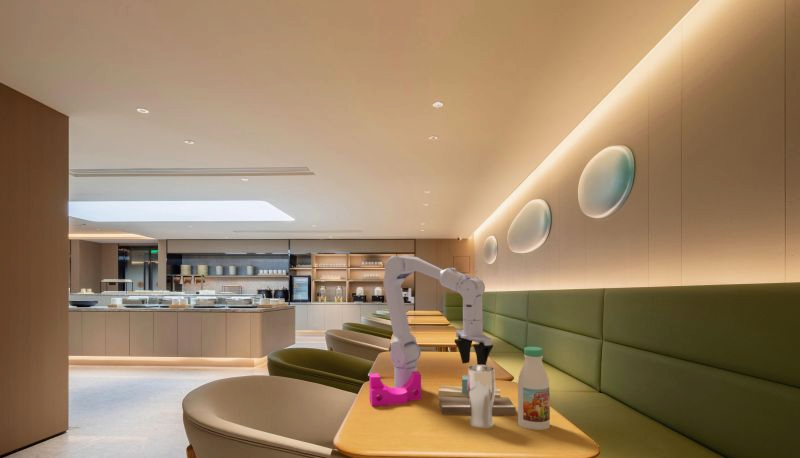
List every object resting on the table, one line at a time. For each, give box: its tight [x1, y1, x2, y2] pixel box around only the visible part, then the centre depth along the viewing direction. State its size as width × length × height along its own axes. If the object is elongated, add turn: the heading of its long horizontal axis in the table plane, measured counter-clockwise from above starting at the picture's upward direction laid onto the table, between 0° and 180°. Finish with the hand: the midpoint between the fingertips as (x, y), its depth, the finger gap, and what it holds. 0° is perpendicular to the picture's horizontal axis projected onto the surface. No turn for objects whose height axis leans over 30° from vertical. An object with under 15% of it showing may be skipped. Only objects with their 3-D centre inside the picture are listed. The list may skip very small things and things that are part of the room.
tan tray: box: [437, 385, 501, 401], centre depth 138 cm, size 5×18×3 cm, turn 78°
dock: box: [438, 396, 516, 416], centre depth 129 cm, size 8×20×2 cm, turn 90°
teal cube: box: [461, 375, 468, 394], centre depth 137 cm, size 4×4×4 cm
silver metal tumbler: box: [467, 364, 496, 429], centre depth 117 cm, size 7×7×15 cm
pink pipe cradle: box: [368, 370, 422, 407], centre depth 137 cm, size 15×6×8 cm, turn 101°
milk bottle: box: [517, 346, 551, 431], centre depth 117 cm, size 8×8×20 cm
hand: (473, 365), depth 136 cm, fingers open, 7 cm apart
